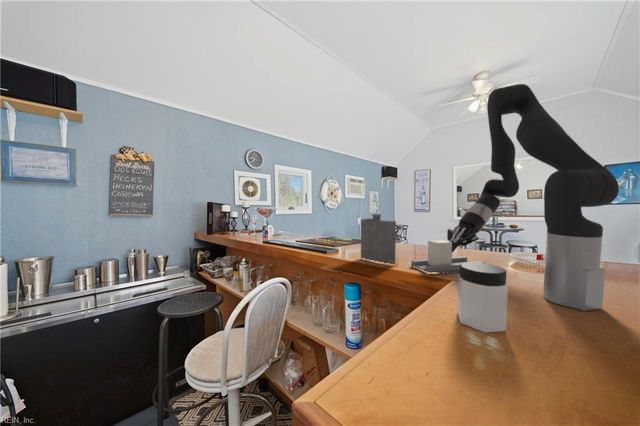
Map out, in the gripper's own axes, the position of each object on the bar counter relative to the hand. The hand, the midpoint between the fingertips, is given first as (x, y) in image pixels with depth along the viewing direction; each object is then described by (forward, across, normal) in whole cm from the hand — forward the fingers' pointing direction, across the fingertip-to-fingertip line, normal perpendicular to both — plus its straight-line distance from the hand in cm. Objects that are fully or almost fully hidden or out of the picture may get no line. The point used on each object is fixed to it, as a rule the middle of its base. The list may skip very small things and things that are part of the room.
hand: (447, 251), depth 86 cm
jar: (+20, +33, -11) cm, 40 cm away
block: (+6, 0, +1) cm, 6 cm away
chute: (+4, 0, +5) cm, 6 cm away
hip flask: (+20, -14, -11) cm, 27 cm away
